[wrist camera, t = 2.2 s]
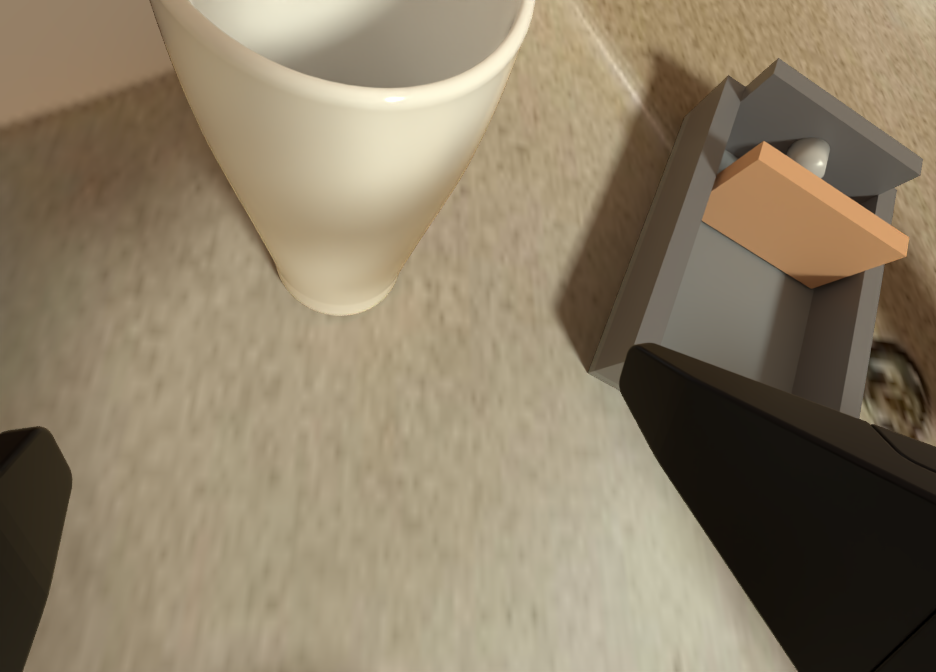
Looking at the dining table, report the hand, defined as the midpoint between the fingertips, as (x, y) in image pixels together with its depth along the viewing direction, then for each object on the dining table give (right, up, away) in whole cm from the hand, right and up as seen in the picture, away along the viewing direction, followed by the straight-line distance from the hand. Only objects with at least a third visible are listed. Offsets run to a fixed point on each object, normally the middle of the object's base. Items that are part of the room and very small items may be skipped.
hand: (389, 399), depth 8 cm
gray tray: (+16, +4, +20) cm, 26 cm away
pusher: (+18, +7, +20) cm, 28 cm away
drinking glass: (-5, +4, +14) cm, 16 cm away
